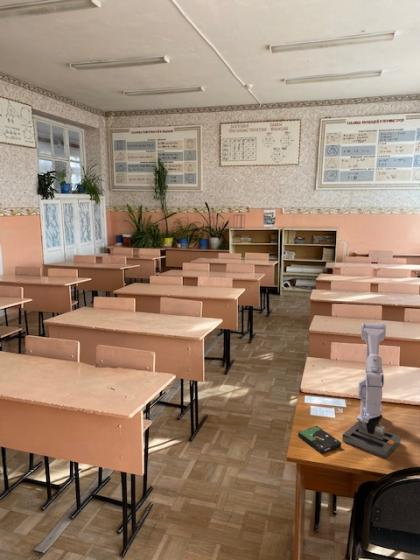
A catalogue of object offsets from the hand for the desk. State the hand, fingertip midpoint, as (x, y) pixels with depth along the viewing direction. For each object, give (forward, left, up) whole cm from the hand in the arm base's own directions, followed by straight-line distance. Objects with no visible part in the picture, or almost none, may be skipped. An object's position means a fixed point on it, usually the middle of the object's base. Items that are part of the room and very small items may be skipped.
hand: (371, 432), depth 172 cm
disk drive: (+14, -16, -5) cm, 22 cm away
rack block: (0, 0, -4) cm, 4 cm away
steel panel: (0, 0, -3) cm, 3 cm away
